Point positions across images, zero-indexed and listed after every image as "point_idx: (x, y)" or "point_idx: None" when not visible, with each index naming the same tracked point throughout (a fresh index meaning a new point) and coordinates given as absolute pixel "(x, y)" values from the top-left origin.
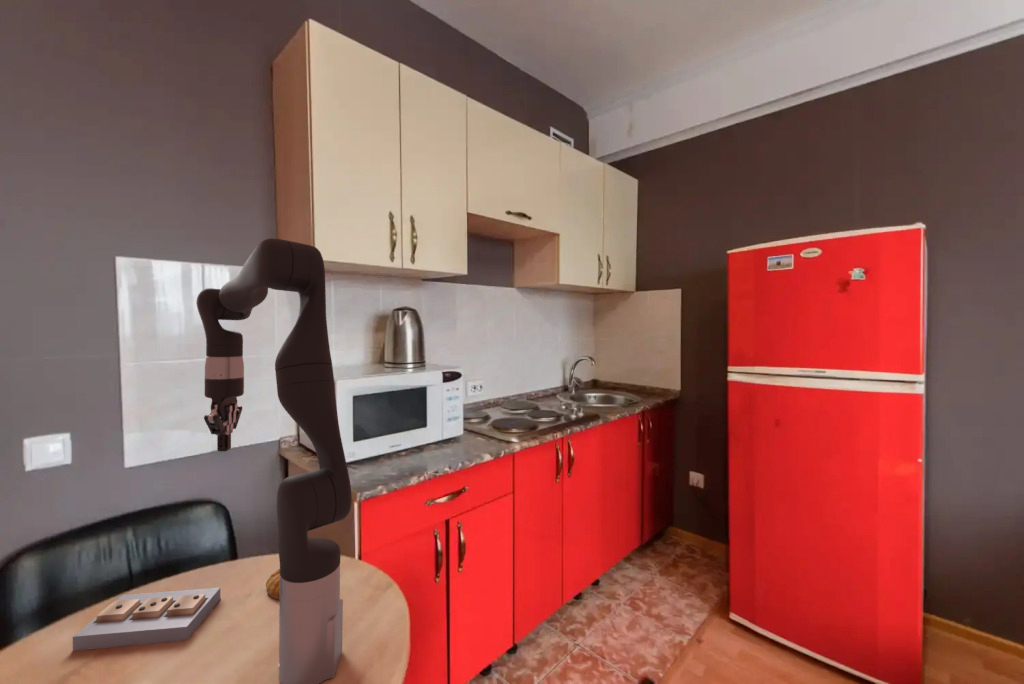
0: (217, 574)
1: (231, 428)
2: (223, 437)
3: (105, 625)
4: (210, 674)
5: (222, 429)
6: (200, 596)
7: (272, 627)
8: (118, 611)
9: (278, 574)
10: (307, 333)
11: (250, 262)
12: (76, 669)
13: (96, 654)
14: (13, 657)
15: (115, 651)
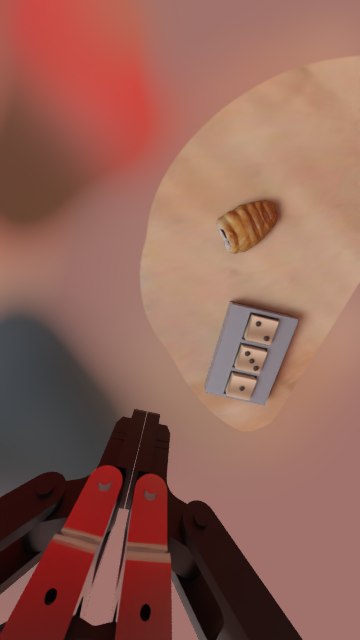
0: (170, 316)
1: (103, 497)
2: (165, 479)
3: (258, 388)
4: (357, 283)
5: (226, 547)
6: (257, 320)
7: (314, 236)
8: (249, 386)
9: (239, 237)
10: None
11: None
12: (288, 385)
13: None
14: (248, 430)
15: None
